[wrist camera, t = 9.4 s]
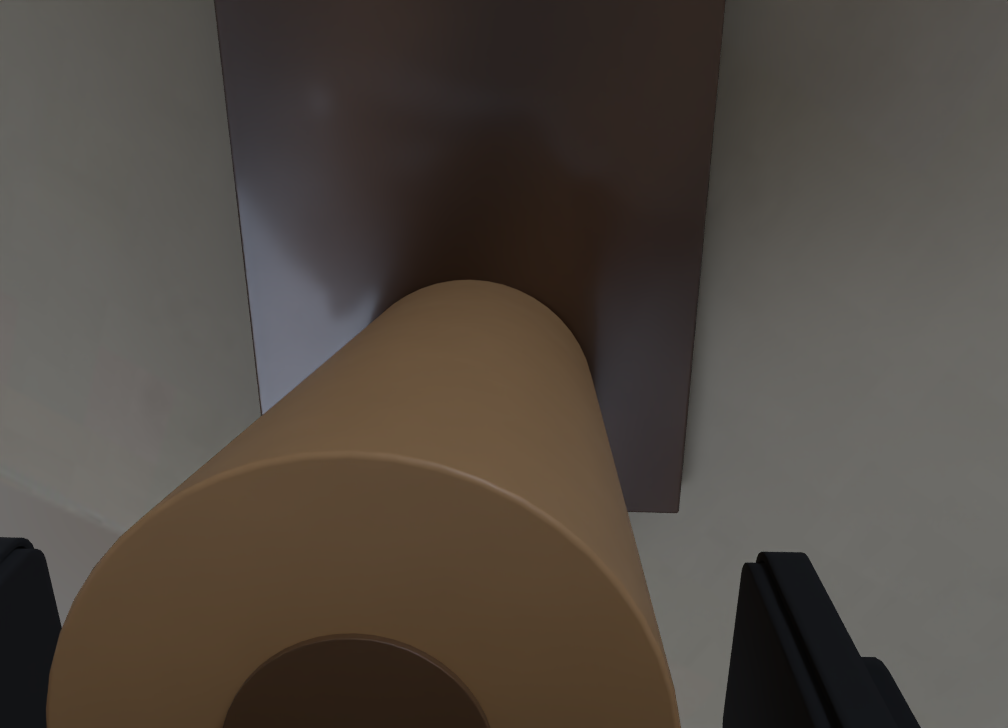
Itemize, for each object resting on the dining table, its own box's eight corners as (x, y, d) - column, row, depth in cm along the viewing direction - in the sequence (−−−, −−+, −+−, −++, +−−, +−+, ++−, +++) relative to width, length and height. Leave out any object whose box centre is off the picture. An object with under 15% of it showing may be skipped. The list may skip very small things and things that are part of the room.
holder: (282, 483, 22) (270, 504, 21) (177, -495, 15) (152, -530, 14) (673, 492, 21) (678, 514, 20) (761, -507, 14) (776, -545, 13)
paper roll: (343, 277, 19) (350, 516, 20) (2, 447, 7) (70, 1013, 8) (598, 281, 18) (589, 522, 20) (704, 462, 7) (667, 1042, 8)
